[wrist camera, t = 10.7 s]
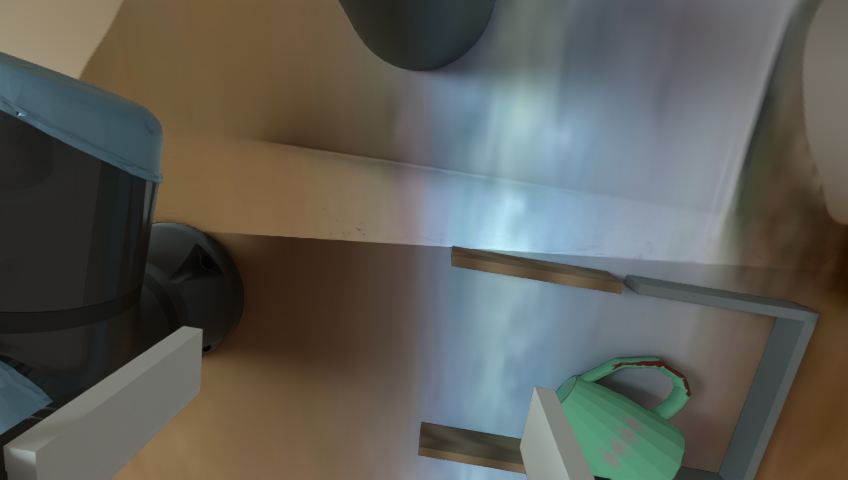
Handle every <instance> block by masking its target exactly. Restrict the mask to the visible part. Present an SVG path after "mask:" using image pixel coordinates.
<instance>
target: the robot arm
mask: <svg viewBox="0 0 848 480" xmlns="http://www.w3.org/2000/svg"><path fill="white" fill-rule="evenodd" d="M162 145H163V131H162V127H161V125H160V123H159V121H158V119H157V118H156V117H155V116H154V115H153V114H152V113H151V112H150V111H149V110H147V109H146V108H145V107H143V106H141V105H139V104H137V103H135V102H133V101H131V100H129V99H126V98H124V97H121V96H119V95H116V94H114V93H112V92H109V91H107V90H104V89H101V88H99V87H96V86H94V85H91V84H89V83H86V82H83V81H81V80H78V79H75V78H72V77H70V76H67V75H64V74H61V73H59V72H56V71H53V70H51V69H48V68H45V67H42V66H40V65H37V64H34V63H31V62H28V61H26V60H23V59H20V58H17V57H14V56H11V55H8V54H6V53H3V52H0V480H110V479H111V478H112V477H113V476H114V475H115V474H116V473H117V472H118V471H119V470H120V469H121V468H122V467H123V466H124V465H125V464H126V463H127V462H128V461H129V460H131V459H132V458H133V457H134V456H135V455H136V454H137V453H138V452H139V451H140V450H141V449H142V448H143V447H144V446H145V445H146V444H147V443H148V442H149V441H150V440H151V439H152V438H153V437H154V436H155V435H156V434H157V433H158V432H159V431H160V430H161V429H162V428H163V427H164V426H165V425H166V424H167V423H168V422H169V421H170V420H171V419H172V418H173V417H174V416H175V415H176V414H177V413H179V412H180V411H181V410H182V409H183V408H184V407H185V406H186V405H187V404H188V403H189V402H190V401H191V400H192V399H193V398H194V397H195V396H196V395H197V394H198V393H199V392H200V385H201V360H202V356H203V355H205V354H207V353H209V352H211V351H212V350H214V349H215V348H216V347H218V346H219V345H220V344H221V343H222V342H223V341H225V340H226V339H227V338H228V337H229V336H230V335H231V334H232V332H233V331H234V330H235V328H236V326H237V325H238V323H239V320H240V318H241V315H242V311H243V305H244V290H243V284H242V280H241V277H240V274H239V272H238V269H237V267H236V265H235V263H234V262H233V260H232V259H231V257H230V256H229V254H228V253H227V252H226V251H225V250H224V249H223V247H222V246H221V245H220V244H218V243H217V242H216V241H215V240H214V239H212V238H211V237H210V236H208V235H207V234H205V233H203V232H201V231H199V230H197V229H195V228H192V227H190V226H186V225H183V224H178V223H156V224H152V222H153V216H154V210H155V204H156V199H157V193H158V187H159V183H162V175H161V173H160V170H161V157H162ZM520 450H521V454H522V458H523V462H524V466H525V470H526V474H527V478H528V480H611V479H610V478H604V477H598V476H593V474H592V472H591V470H590V468H589V465H588V463H587V461H586V459H585V457H584V454H583V452H582V450H581V448H580V445H579V443H578V441H577V439H576V437H575V434H574V432H573V430H572V428H571V426H570V423H569V421H568V419H567V417H566V415H565V412H564V410H563V408H562V406H561V404H560V401H559V399H558V397H557V395H556V393H555V390H552V389H546V388H541V387H534V391H533V395H532V399H531V403H530V407H529V411H528V416H527V420H526V424H525V428H524V432H523V436H522V440H521V444H520Z"/></svg>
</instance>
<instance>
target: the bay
mask: <svg viewBox="0 0 848 480" xmlns="http://www.w3.org/2000/svg"><path fill="white" fill-rule="evenodd" d="M451 260H452V266H455V267H461V268H467V269H473V270H479V271H485V272H491V273H497V274H503V275H509V276H515V277H521V278H527V279H533V280H539V281H545V282H551V283H557V284H564V285H570V286H576V287H582V288H588V289H594V290H600V291H606V292H612V293H618V294H621V293H622V290H623V286H624V284H623V283H622V282H621V281H619V280H618V279H617V278H615V277H614V276H613V275H611V274H610V273H609V272H607V271H602V270H596V269H589V268H583V267H577V266H571V265H565V264H559V263H553V262H547V261H541V260H535V259H529V258H523V257H517V256H510V255H504V254H498V253H492V252H486V251H480V250H474V249H468V248H462V247H456V246H453V248H452V254H451ZM521 440H522V439H517V438H511V437H505V436H499V435H494V434H488V433H482V432H476V431H470V430H465V429H459V428H453V427H447V426H441V425H436V424H430V423H424V422H422V423H421V429H420V439H419V450H418V455H420V456H426V457H432V458H438V459H443V460H449V461H455V462H461V463H466V464H472V465H478V466H484V467H489V468H495V469H501V470H507V471H512V472H518V473H524V474H526V470H525V466H524V462H523V458H522V454H521V450H520V444H521Z"/></svg>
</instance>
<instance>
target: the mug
mask: <svg viewBox="0 0 848 480" xmlns="http://www.w3.org/2000/svg"><path fill="white" fill-rule="evenodd" d="M621 368H657V369H658V370H660V371H661V372H663V373H664V374H666V375H667V376H668V377H670V378H671V379H672V382H673V384H674V389H673V390H672V392H671V394H670V395H669V397H668V398H667V399H666V400H665V401H663V402H662V403H661V404H660V405H658V406H657V407H655V408H654V409H653V410H651V411H649V410H647V409H645V408H643V407H641V406H640V405H638V404H636V403H635V402H633V401H632V400H630V399H628V398H627V397H625V396H623V395H621V394H619V393H617V392H615V391H613V390H610V389H608V388H606V387H604V386H602V385H600V384H597V383H594V381H596V380H598V379H600V378H602V377H604V376H606V375H608V374H610V373H613V372H615V371H617V370H619V369H621ZM555 393H556V395H557V397H558V399H559V401H560V404H561V406H562V408H563V410H564V412H565V415H566V417H567V419H568V421H569V423H570V426H571V428H572V430H573V432H574V434H575V437H576V439H577V441H578V443H579V445H580V448H581V450H582V452H583V454H584V457H585V459H586V461H587V463H588V465H589V468H590V470H591V472H592V474H593V476H598V477H604V478H610V479H611V480H673V479H674V478H675V476H676V474H677V472H678V470H679V469H680V467H681V463H682V460H683V457H684V454H685V439H684V436H683V434H682V432H681V430H680V429H678V428H677V427H676V426H675V425H673V424H672V423H670V422H669V421H668V420H669V419H670V418H671V417H673V416H674V415H675V414H676V413H677V412H678V411H680V410H681V409H682V408H683V407H684V406H685V404H686V403H687V401H688V400H689V399H690V397H691V396H692V391H691V388H690V384H689V381H688V377H687V375H685V374H683V373H682V372H680V371H678V370H676V369H675V368H673V367H671V366H670V365H668V364H666V363H665V362H663V361H661V360H660V359H658V358H656V357H642V358H621V359H612V360H610V361H608V362H606V363H604V364H602V365H600V366H598V367H597V368H595V369H593V370H591V371H589V372H587V373H585V374H583V375H581V376H576V375H575V376H572V377H570V378H569V379H568V380H567V381H565V382H564V383H563V384H562V385H561V386H560V388H559V389H558V390H557V391H556V392H555Z"/></svg>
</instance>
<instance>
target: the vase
mask: <svg viewBox="0 0 848 480" xmlns="http://www.w3.org/2000/svg"><path fill="white" fill-rule="evenodd" d="M339 1H340V3H341V5H342V7H343V9H344V11H345V13H346V14H347V16H348V18H349V20H350V22H351V23H352V25H353V27H354V29H355V30H356V32H357V34H358V35H359V37H360V38H361V39H362V41H363V42H364V43H365V45H366V46H367V47H368V48H369V49H370V50H371V51H372V52H373V53H374V54H376V55H377V56H378V57H380V58H381V59H383V60H384V61H386V62H388V63H390V64H392V65H394V66H397V67H400V68H404V69H409V70H430V69H435V68H438V67H442V66H444V65H447V64H449V63H451V62H453V61H455V60H456V59H458V58H459V57H461V56H462V55H463V54H465V53H466V52H467V51H468V50H469V49H470V48H471V47H472V46H473V45H474V44H475V43H476V41H477V40H478V39H479V37H480V36H481V34H482V33H483V31H484V29H485V28H486V26H487V23H488V21H489V19H490V16H491V13H492V10H493V6H494V2H495V0H339Z"/></svg>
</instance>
